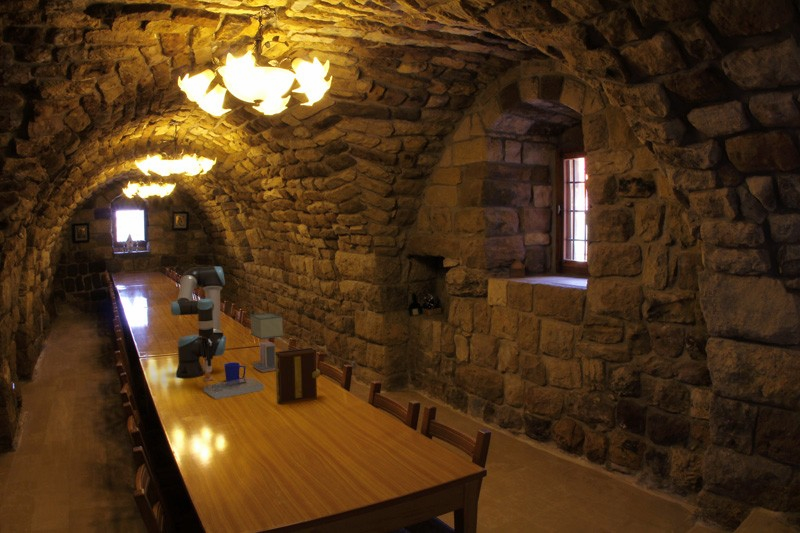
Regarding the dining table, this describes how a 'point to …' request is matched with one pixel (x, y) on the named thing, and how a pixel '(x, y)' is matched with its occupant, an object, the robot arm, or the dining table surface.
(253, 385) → the keyhole plate
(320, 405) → the dining table surface
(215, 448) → the dining table surface
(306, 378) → the book
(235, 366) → the mug
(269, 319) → the desk lamp
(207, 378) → the headed peg
